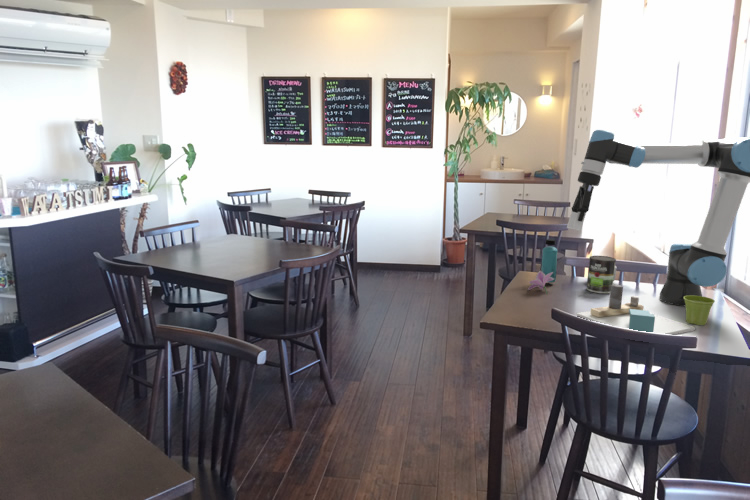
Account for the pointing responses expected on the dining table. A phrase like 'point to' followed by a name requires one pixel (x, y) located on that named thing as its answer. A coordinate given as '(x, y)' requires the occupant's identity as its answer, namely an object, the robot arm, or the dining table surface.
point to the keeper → (641, 320)
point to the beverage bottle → (549, 259)
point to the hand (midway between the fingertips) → (573, 229)
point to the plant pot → (697, 309)
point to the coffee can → (600, 274)
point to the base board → (623, 319)
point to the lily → (541, 280)
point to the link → (616, 304)
